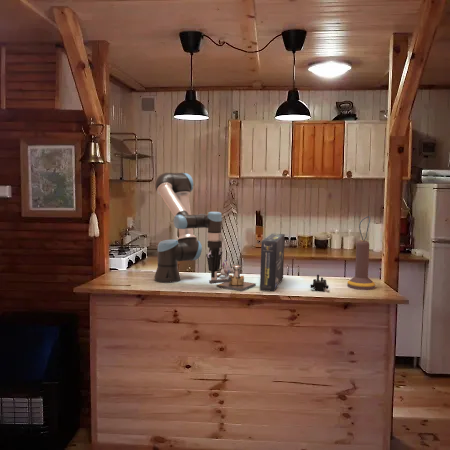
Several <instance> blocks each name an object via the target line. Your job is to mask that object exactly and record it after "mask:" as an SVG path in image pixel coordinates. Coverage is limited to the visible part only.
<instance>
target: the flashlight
mask: <svg viewBox="0 0 450 450" xmlns="http://www.w3.org/2000/svg"><path fill="white" fill-rule="evenodd" d="M368 218H369V220H368V224H367V228H366V233H365V237H364V238H363V235H362V231H361V223H362V222H363V221H364V220H365V219H368ZM370 222H371V217H370V216H366V217H364V218H363V219H361V221H360V222H359V227H358V228H359V232H360V236H361V239H362V240H361V239H360V240H358V241H356V244H355V269H354V270H355V271H354V277H352V278H350V279H348V281H347V288H349V289H354V290H358V291H359V290H361V291H371V290H375V288H376V283H375V282H374V281H373V280H372V279H370V277H369V264H370V261H369V260H370V243H369V242H370V241H367V240H366V239H367V236H368V231H369V227H370Z"/></svg>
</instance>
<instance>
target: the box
mask: <svg viewBox="0 0 450 450" xmlns="http://www.w3.org/2000/svg"><path fill="white" fill-rule="evenodd" d="M285 235H286V234H285V233H284V234H283V233H271V234H269V235H267V237H266V238H264V239H262V240H261V244H260V245H261V248H260V250H261V251H260V273H259V275H260V277H259V291H262V292H263V291H264V292H275V291H276V290H277V288H278V287H279V285H280V284H281V282H282V280H283V279H284V264H285V263H284V260H285V237H286V236H285Z"/></svg>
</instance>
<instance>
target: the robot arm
mask: <svg viewBox="0 0 450 450" xmlns="http://www.w3.org/2000/svg"><path fill="white" fill-rule="evenodd" d="M154 189H155V192H156V193H157V195H158V196H161V198H162V199H163V201H164V203H165V204H166V206H167V207H168V209H169V211H170V213H171V214H172V215H173V225H174V227H175V228H176V229H177V230H178V234H179V236H178V238H177V239H165V240H164V239H163V240H161V241H159V242H158V244H157V249H156V250H157V267H156V271H155V273H154V274H155V275H154V281H155V282H159V283H177V282H180V281H181V275H180V271H179V267H178V262H189V261H191V262H192V261H197V260H198V259H199V258H200V257H201V255H202V252H203V251H202V250H203V247H202V242H201V241H200V240H198V239H197V236H196V235H194V229H207V248H209V250H208V253H206V255H205V256H206V260H207V268H208V271H209V272H210V277H211V278H210V280H217V279H218V277H217V275H218V272H219V271H220V268H221V259H222V255H223V251H221V248H222V230H223V229H222V228H223V227H222V226H223V216H222V215H223V214H222V213H221V212H220V211H208V213H207V214H206V213H199V214H192V212H191V204H190V195H191V194H192V191H193V189H194V180H193V177H192V175H190V174H189V173H186V172H163V173H161V174H159V175H158V177H157V178H156V179H155V183H154ZM214 284H216V285H217V283H214Z"/></svg>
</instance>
